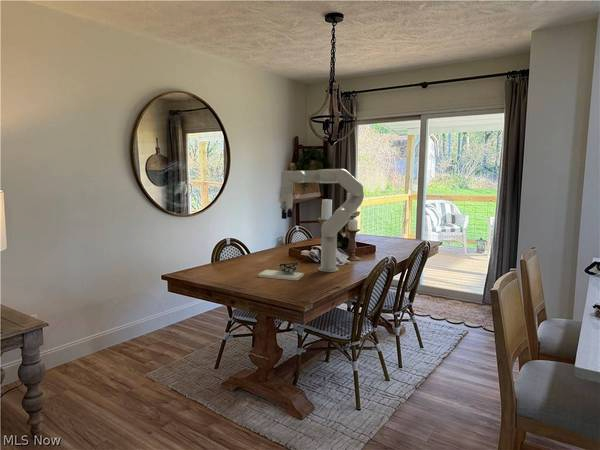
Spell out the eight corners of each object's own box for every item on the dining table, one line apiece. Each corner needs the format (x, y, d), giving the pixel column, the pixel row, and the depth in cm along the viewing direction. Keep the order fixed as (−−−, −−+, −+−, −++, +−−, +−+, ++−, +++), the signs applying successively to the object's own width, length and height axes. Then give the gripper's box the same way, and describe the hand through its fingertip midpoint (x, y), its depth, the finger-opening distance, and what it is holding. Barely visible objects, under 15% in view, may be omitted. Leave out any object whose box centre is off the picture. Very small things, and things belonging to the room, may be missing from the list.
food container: (279, 274, 246) (278, 274, 236) (278, 264, 247) (278, 263, 237) (299, 273, 247) (300, 273, 237) (298, 263, 248) (299, 262, 238)
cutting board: (266, 272, 249) (266, 269, 249) (303, 275, 241) (303, 273, 241) (258, 276, 238) (258, 274, 238) (297, 280, 230) (297, 277, 230)
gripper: (286, 190, 263) (286, 216, 265) (276, 191, 246) (276, 219, 248) (297, 190, 260) (297, 217, 262) (288, 191, 244) (287, 219, 246)
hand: (286, 218), depth 255 cm, fingers open, 9 cm apart
